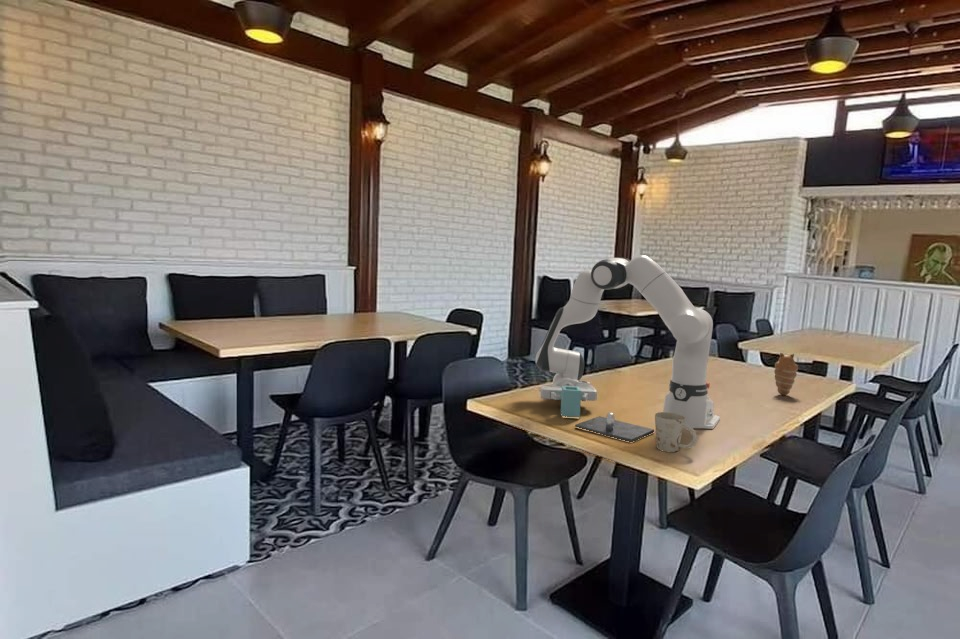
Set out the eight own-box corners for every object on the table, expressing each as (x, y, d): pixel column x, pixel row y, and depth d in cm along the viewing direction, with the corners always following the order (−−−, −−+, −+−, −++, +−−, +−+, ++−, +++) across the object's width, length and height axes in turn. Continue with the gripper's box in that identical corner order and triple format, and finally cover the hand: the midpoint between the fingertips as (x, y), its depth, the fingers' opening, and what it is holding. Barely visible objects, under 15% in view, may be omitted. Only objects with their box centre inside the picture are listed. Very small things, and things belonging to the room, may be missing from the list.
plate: (599, 419, 200) (600, 401, 199) (653, 433, 186) (655, 413, 186) (575, 428, 189) (576, 408, 188) (631, 443, 175) (632, 422, 174)
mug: (659, 442, 177) (661, 410, 176) (701, 452, 169) (703, 418, 168) (648, 449, 170) (650, 415, 169) (691, 459, 163) (693, 424, 161)
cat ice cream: (773, 396, 244) (777, 353, 242) (770, 392, 251) (774, 350, 249) (796, 398, 241) (801, 355, 239) (793, 394, 249) (797, 352, 247)
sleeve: (560, 413, 205) (561, 386, 204) (577, 414, 205) (579, 386, 204) (562, 418, 199) (563, 390, 198) (579, 419, 199) (581, 390, 198)
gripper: (538, 380, 218) (541, 388, 204) (594, 382, 217) (599, 390, 203) (538, 396, 218) (540, 406, 205) (593, 398, 217) (598, 408, 204)
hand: (570, 398), depth 204 cm, fingers open, 8 cm apart
